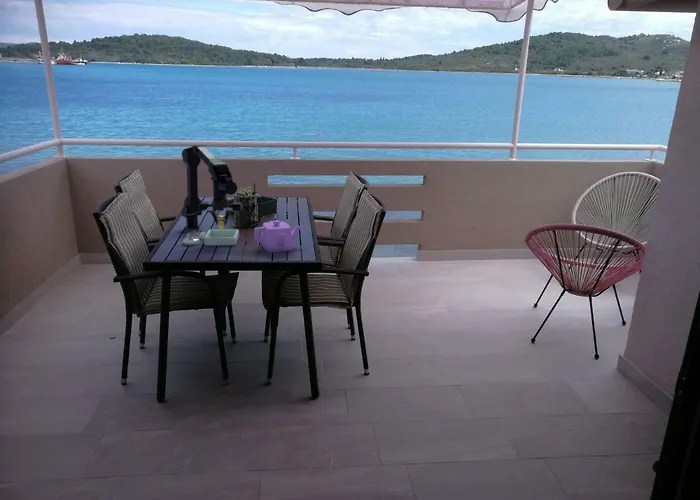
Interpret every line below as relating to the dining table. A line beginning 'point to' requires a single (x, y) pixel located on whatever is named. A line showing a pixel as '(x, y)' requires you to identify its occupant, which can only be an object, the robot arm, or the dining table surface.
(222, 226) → the pin
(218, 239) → the parts tray
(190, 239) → the tensioner bracket
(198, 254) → the dining table surface
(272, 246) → the teakettle
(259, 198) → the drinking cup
